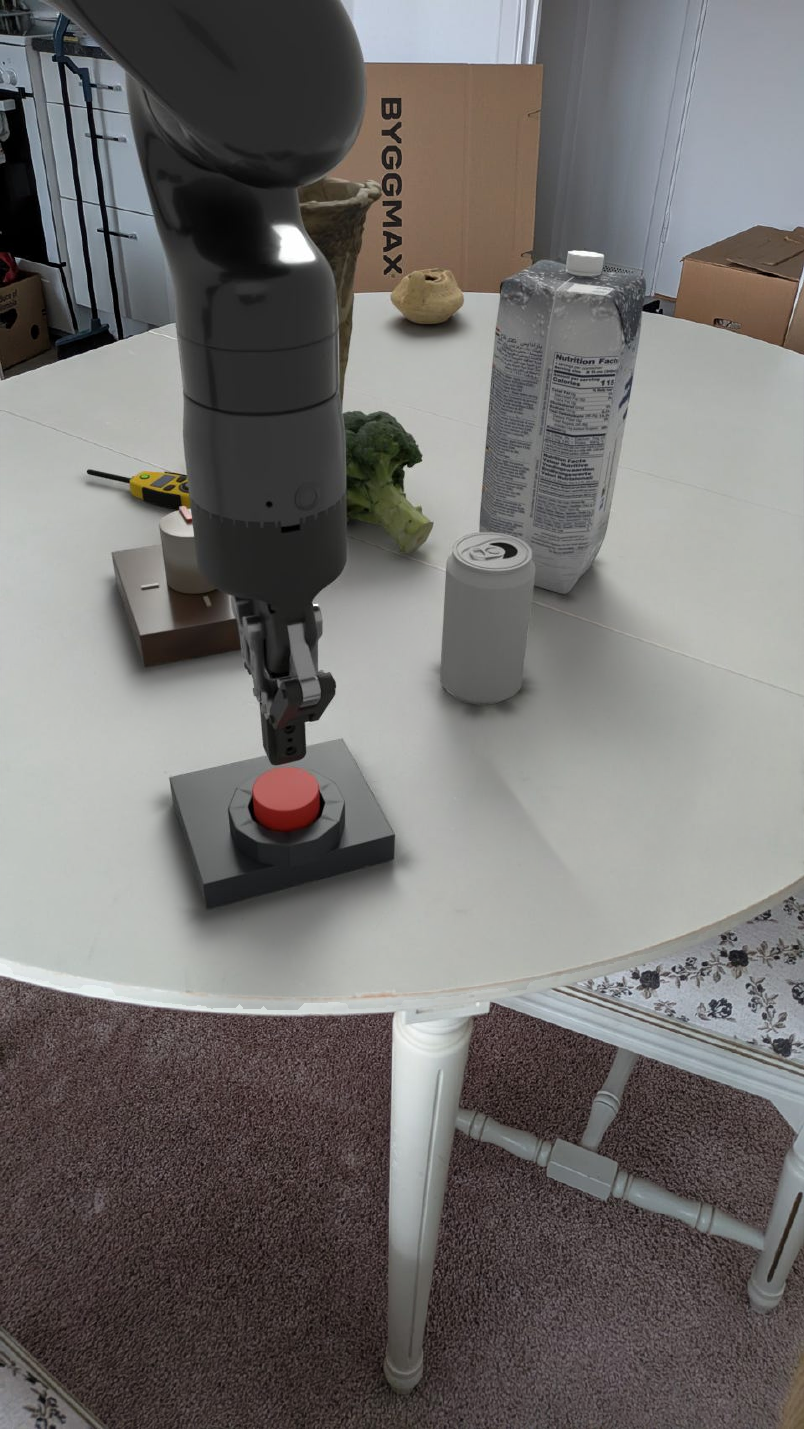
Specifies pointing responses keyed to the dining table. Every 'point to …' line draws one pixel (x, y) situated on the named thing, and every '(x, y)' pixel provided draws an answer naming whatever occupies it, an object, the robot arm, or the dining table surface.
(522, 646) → the beverage can
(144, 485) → the yellow walkie talkie
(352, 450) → the vegetable
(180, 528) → the knob
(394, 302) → the oil lamp
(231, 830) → the button block
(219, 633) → the panel
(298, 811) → the button
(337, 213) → the vase
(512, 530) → the juice carton
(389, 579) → the dining table surface
